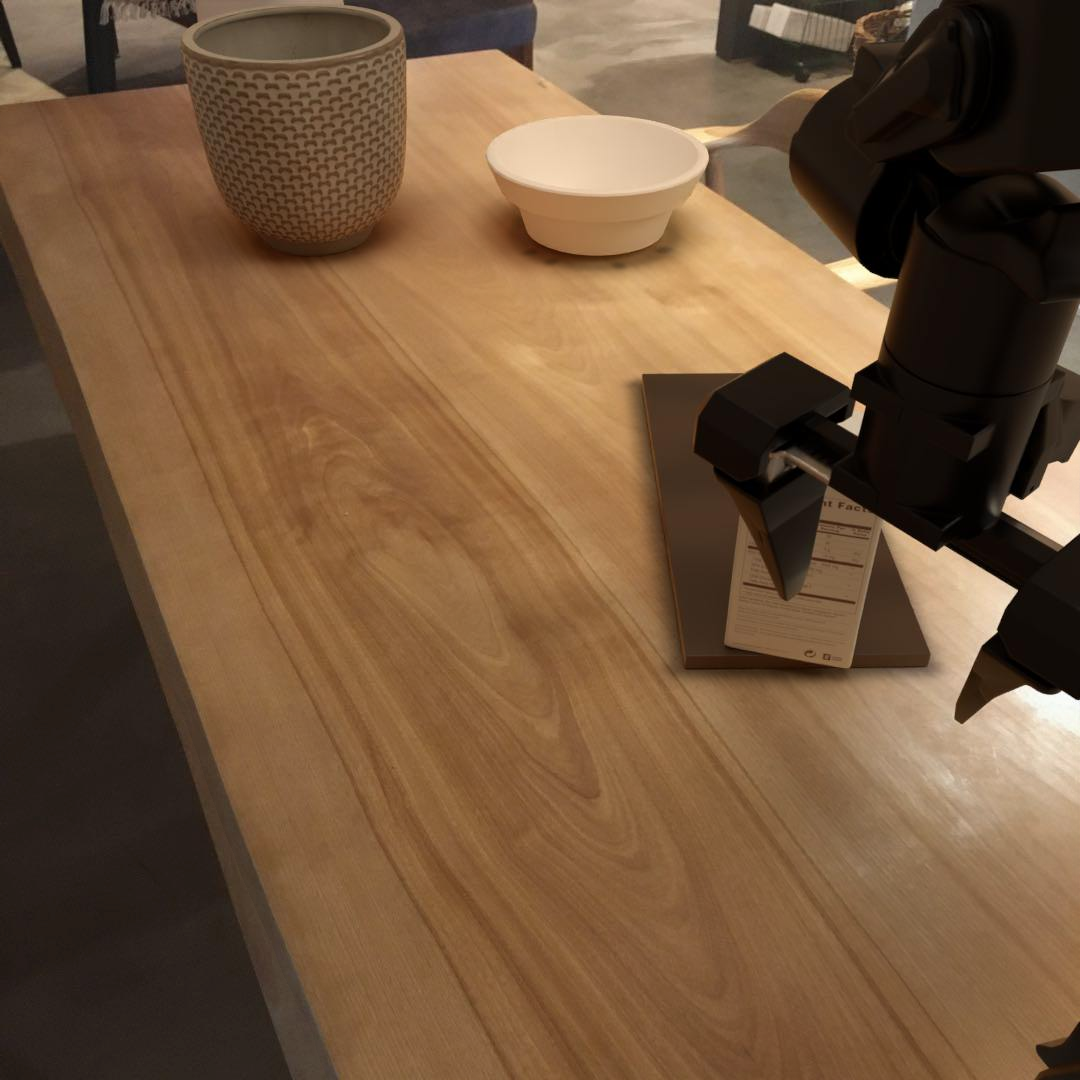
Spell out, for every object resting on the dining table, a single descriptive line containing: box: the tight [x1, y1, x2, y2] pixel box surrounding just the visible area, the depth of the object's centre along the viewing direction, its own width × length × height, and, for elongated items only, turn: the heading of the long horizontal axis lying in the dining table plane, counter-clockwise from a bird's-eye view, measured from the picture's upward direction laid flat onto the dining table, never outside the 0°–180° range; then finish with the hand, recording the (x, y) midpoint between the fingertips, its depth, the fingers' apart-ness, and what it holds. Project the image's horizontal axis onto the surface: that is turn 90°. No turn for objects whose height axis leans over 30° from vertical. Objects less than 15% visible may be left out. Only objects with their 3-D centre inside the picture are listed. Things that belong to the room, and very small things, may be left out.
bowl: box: [485, 114, 710, 257], centre depth 113 cm, size 21×21×8 cm
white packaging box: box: [724, 410, 884, 669], centre depth 66 cm, size 7×7×13 cm
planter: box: [180, 3, 408, 257], centre depth 110 cm, size 20×20×19 cm
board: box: [641, 372, 931, 669], centre depth 80 cm, size 32×14×1 cm, turn 1°
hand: (873, 653), depth 51 cm, fingers open, 9 cm apart
